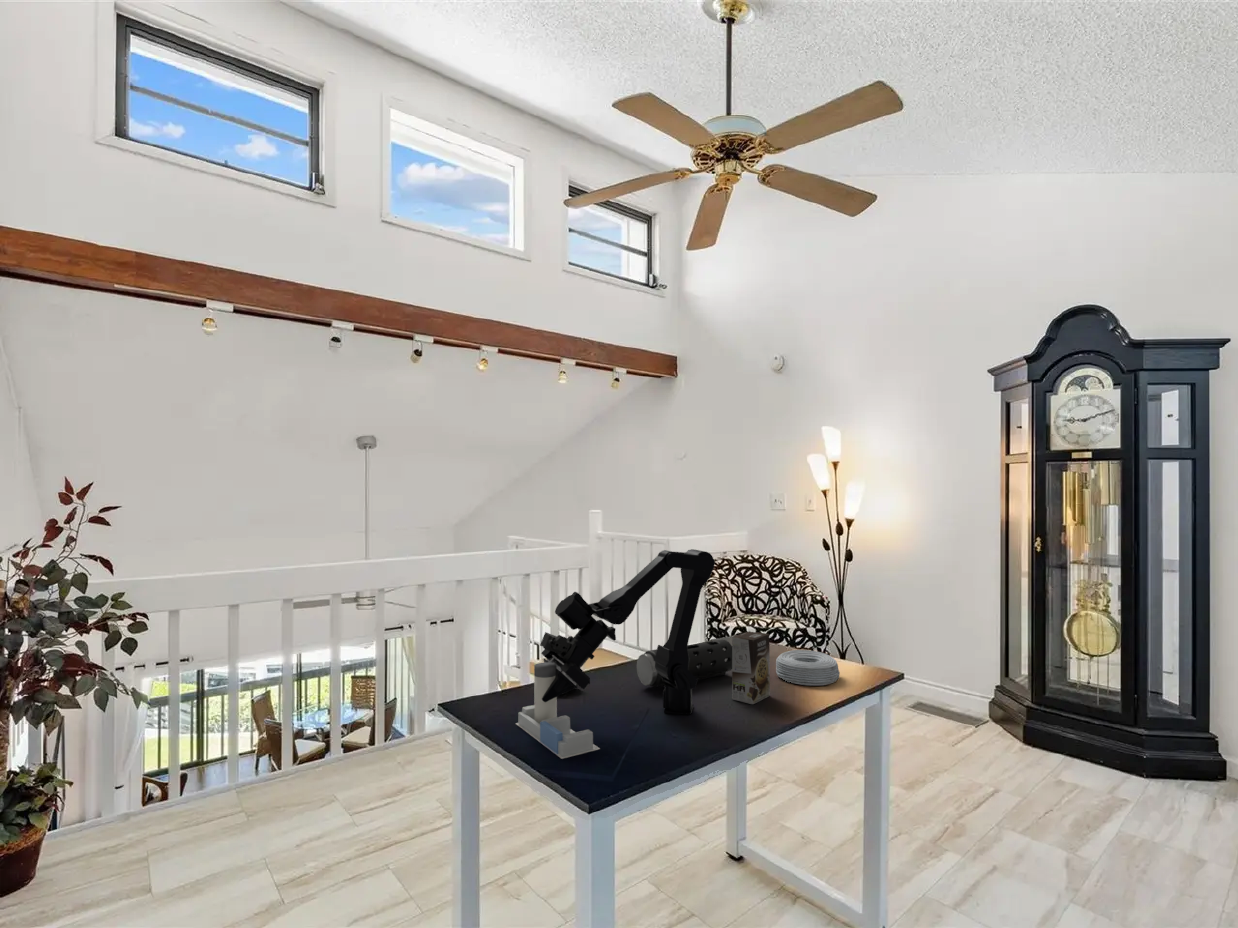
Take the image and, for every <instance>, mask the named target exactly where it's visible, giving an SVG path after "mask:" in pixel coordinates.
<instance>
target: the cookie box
mask: <svg viewBox="0 0 1238 928" xmlns="http://www.w3.org/2000/svg"><path fill="white" fill-rule="evenodd" d="M731 639H732V640H731V642H732V643H731V646H732V670H731V672H732V673H731V677H732V679H731V681H732V682H731V687H732V688H731V694H732V696H731V699H732V700H734V701H738V702H741V703H746V704H748V705H749V704H750V705H754V704H756V703H759V702H761V701H762V700H765V699H766V698H768V697H770V696H771V683H770V682H771V680H770V679H771V677H770V676H771V673H770V672H771V669H770V668H771V666H770V665H771V664H770V658H771V657H770V651H771V650H770V634H769V633H765V632H758V631H757V632H755V631H750V630H749V631H746V632H742V633H740V634H737V635H733V636H731Z"/></svg>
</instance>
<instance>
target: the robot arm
mask: <svg viewBox="0 0 1238 928" xmlns="http://www.w3.org/2000/svg"><path fill="white" fill-rule="evenodd" d="M715 563H716V562H715V558H714V557H713V555H712V553H710V552H709V551H704V550H699V549H688V550H687V551H685V552H682V551H681V552H680V551H671V550H667V549H666V550H665V549H664V550H661V551H659V553H658V554H657V556H655V557H654V558H653V560H651V561H650V562H649V563H648V564H647V565H646V566H645V567H644V568H643V569H642V570H641V571H639V572H638V573H637V574H636V575H635V576H634V577H633V578H632V579H630V580H629V581H628V582H627V583H626V584H625V585H624V586H622V587H620V588H618V589H615V590H613V591H611V592H609V593H608V594H606V595H605V596H604V597H602V598H601V599H600V600H599V601H597V602H592V603H588V602H587V601H586V600H585V599H584V597H582V595H581V594H580V592H577V591H574V592H573V593H571V594H570V595H568V596H567V597H565V598H563V599H561V600H560V602H559V603H557V606H556V608H555V611H554V613H555V615H557V616H558V617H559V619H561V620H562V621H563V623H565V624H566V625H567V626H568V627H569V628H570V629H571V630H572V631H573V630H577V629H578V632H577V633H576V634H575V635H574V636H572V635H569V636H568V637H565V636H562V635H561V634H558V635H557V636H556V635H554V634H552V633H548V632H546V631H545V632H544V634H543V637H542V638H541V642H540V645H539V646H540V647H542V648H543V650H542V652H541V653H540V654H541V655H542V657H544V658H543V662H550V663H555V664H556V665H557V668H556V671H555V679H554V680H553V682H552V683H551V685H550V686H549V688H548V689H547V691H546V692H545V694H544V696H543V697H542V700H543V701H544V702H547V701H549V700H551V699H553V698H555V697H557V698H558V697H559V696H560V695H563V694H566V693H568V692H570V691H573V690H577V689H578V687H579V688H581V689H582V690H584V691H586V689H587V688H588V687H589V686H590V685H591V677H589V676H588V674H587V673H585V672H584V670H583V669H582V667H583V666H584V665H585V664H586V662H587V661H588V660H589V659H590V660H593V659H594V658H595V656H596V655H594V652H595V651H596V650H597V649H598V648H599V647H600V645H601V644H602V643H603V642H604V641H605V640H606V638H608V639H611V640H612V641H614V642H615V641H616V640H617V637H616V628H615V627H613V626H608V625H607V624H606V623H605V622H604V621H606V622H608V623H610V624H612V625H616V626H617V625H622V624H623V623H624V622H626V620H627V619H628V618H629V617H630V616H631V614H632V613H633V611H634V609H635V607H636V605H637V603H638V602H639V601H640V599H641V598H643V596H644V595H646V593H648V591H649V590H650V589H652V588H653V587H654V586H655V585H656V584H657V583H658V582H659V581H661V579H662V578H663V577H664V576H665V575H667V573H668V572H670V571H672V569H673V568H676V569H680V575H681V583H682V585H681V589H680V592H679V596H678V600H677V604H676V608H675V612H674V616H673V618H672V624H671V628H670V631H669V635H668V638H667V641H666V642H665V643H664V645H660V644H658V645H657V647H656V649H657V653H656V656H655V658H654V660H653V661H655V669H656V671H657V673H658V674H659V675H661V678H662V680H663V681H665V682H666V685H665V687H664V689H663V691H662V708H663V713H664V714H674V715H675V714H676V715H687V716H688V715H689V716H690V715H691V714H692V711H693V709H694V704H693V689H696V687H697V683H698V679H697V678H696V677H695V676H694V675H693V674H692V673H690V672H689V671H688V667H689V654H688V648H687V645H689V644H688V643H689V640H690V635H691V632H692V627H693V625H694V620H695V615H696V612H697V608H698V603H699V601H700V600H699V598H700V595H701V592H702V589H703V587H704V586H705V584H707V582H708V581H709V580H710V579H711V575H712V573H713V571H714V568H715V565H716V564H715ZM594 617H596V618H599V619H598V620H596V619H595V618H594ZM603 620H604V621H603ZM560 671H561V672H560ZM576 684H578V686H576Z"/></svg>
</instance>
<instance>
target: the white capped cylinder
mask: <svg viewBox="0 0 1238 928" xmlns="http://www.w3.org/2000/svg"><path fill="white" fill-rule="evenodd" d="M533 667H534V668H533V674H534V675H533V677H534V678H533V679H534V681H533V682H534V683H533V684H534V685H533V686H534V687H533V688H534V692H533V693H534V695H533V696H534V697H533V699H534V700H533V701H534V704H533V705H534V720H535V721H536V722H537V723H539V724H540V722H541V720H546V719H551V718H555V717H558V714H557V713H558V709H557V708H558V701H557V700H558V696H557V697H555V698H553V699H551V700H549V701H547V702H544V701H543V700H542V697H543V696H544V694H545V692H546V691H547V689H548V688H549V686H550V685H551V683H552V682H553V680H554V679H555V671H556V668H557V665H556V664H555V663H550V662H544V661H542V662H538V663H535V664H534V666H533Z"/></svg>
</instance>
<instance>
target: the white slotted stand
mask: <svg viewBox="0 0 1238 928" xmlns="http://www.w3.org/2000/svg"><path fill="white" fill-rule="evenodd" d="M517 716H518V720H517V721H518V722H516V723H515V725H516V726H518V727H519V728H521V729H522V730H523V731H524V732H526V733H527V734H528V735H530V736H531V737H532V738H533V739H535V740H536V741H538V742H539V743H540V744H542V745H543V746H544V747H545V748H547V749H548V750H549V751H551V752H552V753H553V754H555V755H556V756H557V757H559V758H560V759H562V760H563V759H567V758H570V757H574V756H579V755H583V754H587V753H590V752H595V751H598V750H601V748H600V747H598V745H595V744H594V732H593V731H592V730H590V729H583V730H580V731H575V730H573V729H572V728H571V717H570V716H568V715H565V714H564V715H561V716H557V717H555V718H551V719H546V720H541V722H540V724H539V723H537V722H536V721H535V720H534V704H533V705H527V706H523V707H522V709H521V711H519V712H518V714H517Z"/></svg>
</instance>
